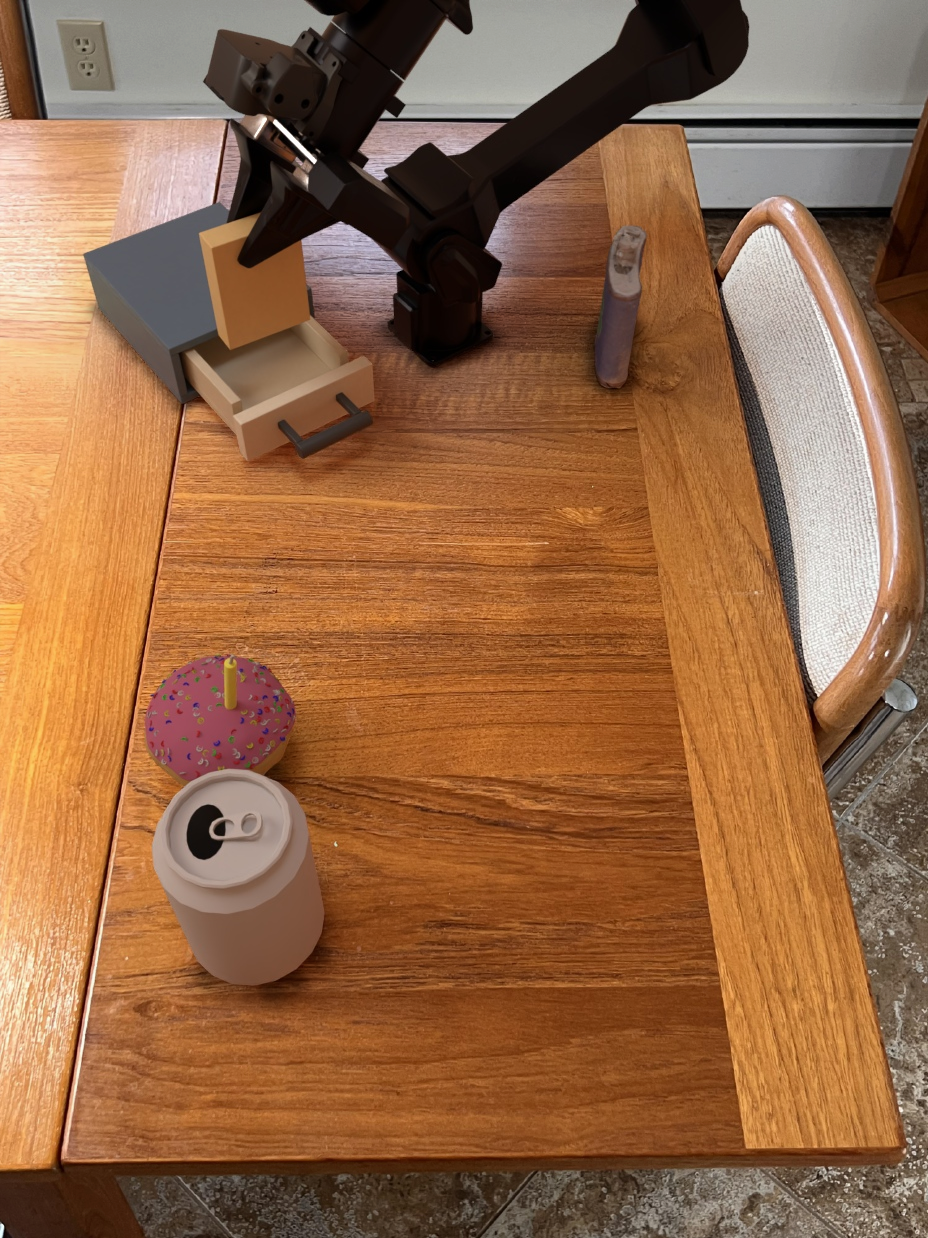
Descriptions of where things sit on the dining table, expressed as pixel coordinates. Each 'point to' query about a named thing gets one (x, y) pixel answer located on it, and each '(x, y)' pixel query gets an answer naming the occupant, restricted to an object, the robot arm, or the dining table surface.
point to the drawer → (283, 388)
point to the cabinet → (161, 292)
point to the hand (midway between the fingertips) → (235, 256)
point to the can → (240, 875)
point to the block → (252, 286)
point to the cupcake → (218, 718)
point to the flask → (619, 306)
